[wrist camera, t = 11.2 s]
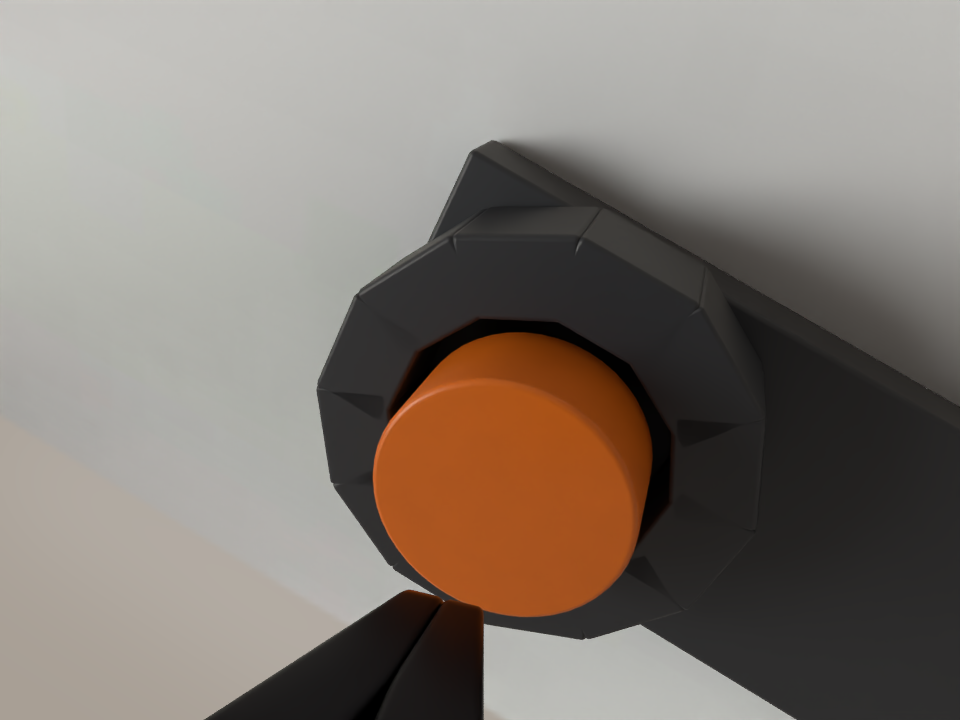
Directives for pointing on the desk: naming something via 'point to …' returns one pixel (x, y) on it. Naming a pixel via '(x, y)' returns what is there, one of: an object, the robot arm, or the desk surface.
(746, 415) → the button box
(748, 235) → the desk surface
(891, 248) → the desk surface
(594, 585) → the button
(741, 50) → the desk surface
